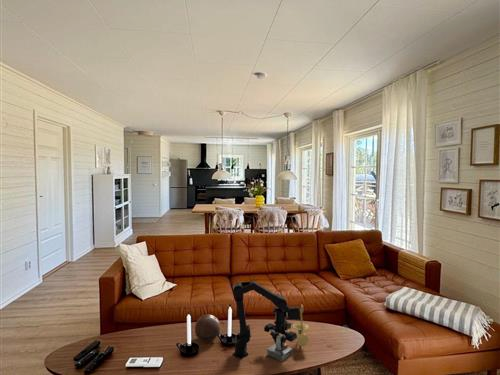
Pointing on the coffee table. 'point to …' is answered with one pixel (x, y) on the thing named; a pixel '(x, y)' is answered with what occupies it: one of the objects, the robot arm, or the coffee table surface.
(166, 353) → the coffee table surface
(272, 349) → the rosette plate
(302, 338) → the wall sconce
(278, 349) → the wedge pin
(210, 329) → the wooden sphere
